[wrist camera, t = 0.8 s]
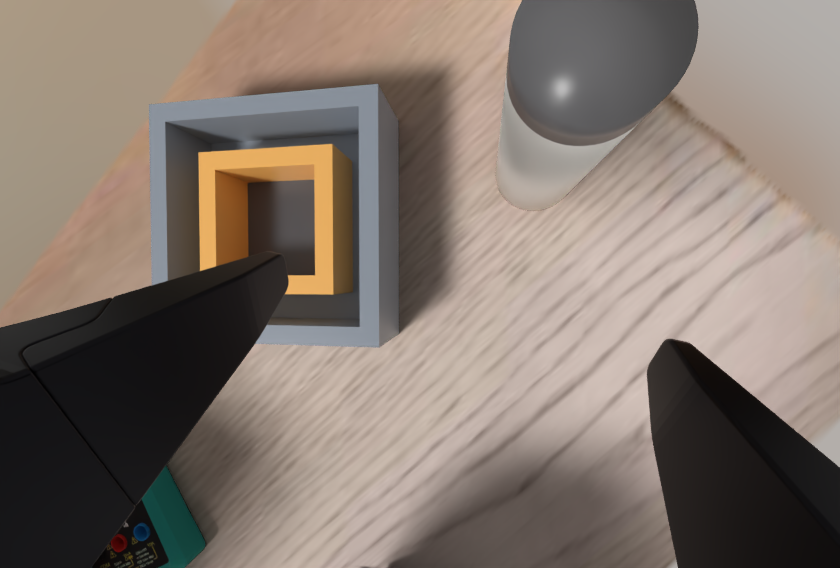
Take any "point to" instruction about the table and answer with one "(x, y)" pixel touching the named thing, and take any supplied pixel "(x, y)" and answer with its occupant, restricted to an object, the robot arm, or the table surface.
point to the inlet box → (286, 203)
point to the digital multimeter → (155, 532)
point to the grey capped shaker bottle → (583, 87)
